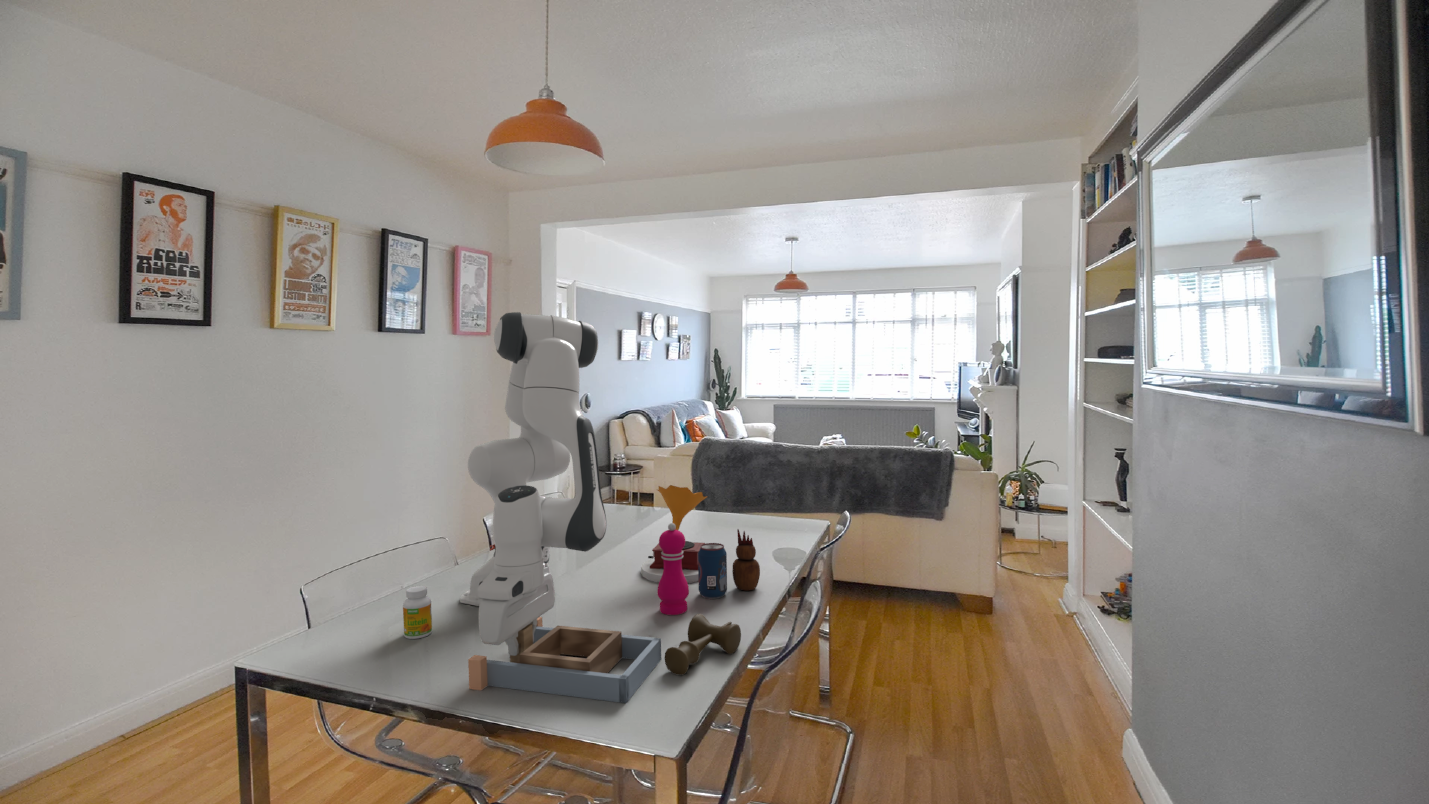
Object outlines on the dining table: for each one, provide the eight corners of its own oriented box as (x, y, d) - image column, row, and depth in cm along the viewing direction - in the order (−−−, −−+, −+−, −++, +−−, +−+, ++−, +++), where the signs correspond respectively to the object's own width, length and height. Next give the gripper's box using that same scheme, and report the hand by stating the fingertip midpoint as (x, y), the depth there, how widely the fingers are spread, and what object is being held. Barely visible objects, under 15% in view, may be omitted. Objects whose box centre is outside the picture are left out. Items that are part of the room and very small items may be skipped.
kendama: (652, 672, 118) (711, 631, 135) (696, 686, 113) (752, 642, 130) (652, 640, 118) (711, 603, 135) (696, 653, 113) (751, 613, 129)
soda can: (700, 589, 161) (699, 542, 161) (728, 590, 160) (727, 542, 160) (697, 599, 154) (696, 549, 154) (726, 599, 154) (725, 549, 153)
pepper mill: (685, 617, 143) (683, 527, 142) (653, 615, 145) (651, 526, 144) (692, 605, 150) (691, 520, 149) (662, 603, 152) (660, 519, 151)
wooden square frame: (493, 679, 114) (492, 640, 114) (534, 648, 127) (532, 613, 127) (590, 691, 109) (589, 650, 109) (622, 657, 122) (621, 621, 122)
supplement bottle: (404, 641, 132) (402, 594, 132) (403, 632, 137) (401, 587, 137) (433, 636, 135) (431, 590, 134) (431, 627, 140) (429, 583, 139)
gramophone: (709, 585, 165) (707, 487, 164) (631, 582, 168) (629, 486, 167) (722, 562, 185) (720, 475, 184) (652, 559, 188) (650, 474, 187)
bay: (469, 688, 112) (468, 659, 111) (532, 641, 131) (531, 616, 131) (621, 708, 104) (621, 677, 104) (664, 655, 124) (664, 628, 124)
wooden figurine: (729, 590, 160) (728, 530, 159) (737, 583, 165) (736, 525, 165) (755, 594, 157) (754, 532, 157) (762, 586, 163) (762, 527, 162)
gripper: (533, 558, 131) (535, 626, 131) (470, 591, 111) (473, 671, 111) (562, 560, 129) (563, 629, 130) (503, 594, 109) (505, 675, 110)
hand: (521, 649), depth 120 cm, fingers closed on wooden square frame, 3 cm apart
